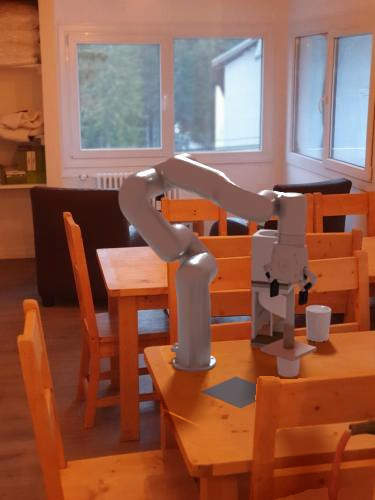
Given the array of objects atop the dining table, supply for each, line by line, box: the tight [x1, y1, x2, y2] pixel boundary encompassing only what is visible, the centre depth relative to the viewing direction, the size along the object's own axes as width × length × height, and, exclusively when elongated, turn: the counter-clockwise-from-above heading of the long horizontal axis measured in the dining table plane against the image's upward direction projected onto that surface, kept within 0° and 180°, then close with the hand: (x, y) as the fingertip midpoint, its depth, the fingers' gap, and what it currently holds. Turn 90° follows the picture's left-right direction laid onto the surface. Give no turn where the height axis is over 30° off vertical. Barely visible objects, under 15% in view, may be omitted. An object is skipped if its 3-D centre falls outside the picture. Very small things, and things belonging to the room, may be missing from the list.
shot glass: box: [276, 356, 301, 378], centre depth 196 cm, size 7×7×7 cm
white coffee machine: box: [250, 228, 296, 348], centre depth 218 cm, size 11×11×35 cm
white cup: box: [305, 304, 332, 343], centre depth 224 cm, size 8×8×10 cm
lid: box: [260, 323, 318, 361], centre depth 195 cm, size 11×11×8 cm
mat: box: [200, 376, 257, 409], centre depth 186 cm, size 14×14×1 cm
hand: (288, 300), depth 193 cm, fingers open, 9 cm apart
